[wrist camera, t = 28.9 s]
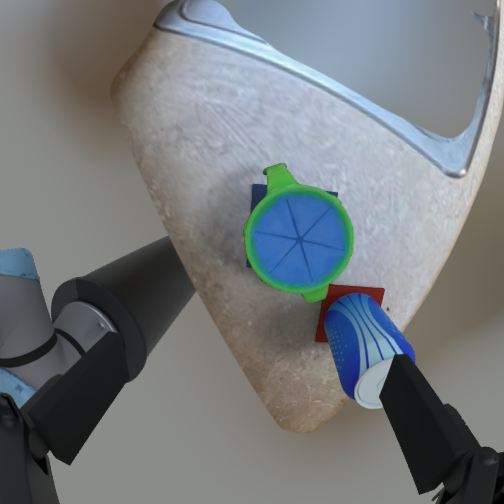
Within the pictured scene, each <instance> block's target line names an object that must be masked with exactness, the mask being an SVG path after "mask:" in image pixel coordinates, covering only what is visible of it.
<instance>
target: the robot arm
mask: <svg viewBox="0 0 504 504" xmlns="http://www.w3.org/2000/svg"><path fill="white" fill-rule="evenodd" d="M39 279H40V277H39V276H38V274H37V270H36V267H35V263H34V260H33V256H32V254H31V253H30V251H29V250H27V249H25V248H15V249H7V250H0V504H60V503H59V500H58V496H57V493H56V489H55V485H54V480H53V476H52V472H51V466H50V461H49V457H48V455H47V453H48V452H49V450H50V451H51V452H52V454H53V455H54V456H55V458H56V459H58V460H60V461H62V462H64V463H66V464H68V465H71V463H72V461H73V460H74V459H75V457H76V456H77V454H78V453H79V451H80V450H81V448H82V446H83V445H84V443H85V442H86V440H87V439H88V437H89V436H90V434H91V433H92V431H93V430H94V428H95V427H96V425H97V424H98V423H99V421H100V420H101V418H102V417H103V415H104V414H105V412H106V411H107V409H108V408H109V406H110V405H111V404H112V402H113V401H114V399H115V398H116V396H117V395H118V393H119V392H120V391H121V389H122V388H123V386H124V384H125V383H126V382H127V381H128V379H129V378H130V376H129V371H128V366H127V361H126V356H125V344H124V340H123V337H122V334H121V332H120V330H119V328H118V327H117V325H116V323H115V322H114V321H113V319H112V318H111V317H110V316H109V315H108V314H107V313H106V312H105V311H104V310H103V309H102V308H100V307H99V306H98V305H96V304H94V303H92V302H90V301H87V300H75V301H72V302H71V303H69V304H68V305H66V306H65V307H64V308H63V309H62V310H61V312H60V314H59V316H58V318H57V319H56V321H55V322H54V324H53V323H52V321H51V318H50V315H49V313H48V309H47V306H46V303H45V299H44V296H43V293H42V289H41V285H40V281H39ZM379 399H380V401H381V403H382V405H383V408H384V410H385V412H386V414H387V416H388V419H389V421H390V423H391V425H392V428H393V430H394V432H395V435H396V437H397V440H398V442H399V444H400V447H401V449H402V452H403V454H404V457H405V459H406V462H407V464H408V467H409V469H410V472H411V474H412V477H413V479H414V482H415V485H416V487H417V490H418V493H419V495H420V494H423V493H426V492H429V491H432V490H434V489H436V488H437V487H438V486H439V485H440V483H441V482H443V484H444V487H443V488H442V490H440V491H439V492H438V493H437V494H436V495H435V496H434V497H433V499H432V501H434V500H435V499H436V498H437V497H438V496H439V497H438V499H437V502H436V504H504V452H501V453H497V452H496V451H495V450H494V449H492V448H490V447H481V446H480V445H479V443H478V442H477V440H476V438H475V437H474V435H473V434H472V432H471V431H470V429H469V428H468V426H467V425H465V424H466V423H465V422H464V420H463V419H461V416H460V414H459V413H458V411H457V410H456V409H455V408H453V407H452V406H451V405H449V404H444V405H443V403H442V402H441V400H440V399H439V397H438V396H437V394H436V393H435V392H434V390H433V389H432V387H431V386H430V384H429V383H428V382H427V380H426V379H425V377H424V376H423V374H422V373H421V372H420V371H419V369H418V368H417V366H416V365H415V363H414V362H413V361H412V359H411V358H410V357H409V355H408V354H394V357H393V360H392V363H391V366H390V368H389V371H388V374H387V377H386V379H385V382H384V385H383V387H382V390H381V392H380V395H379Z"/></svg>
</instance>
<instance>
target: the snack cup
mask: <svg viewBox="0 0 504 504" xmlns="http://www.w3.org/2000/svg"><path fill="white" fill-rule="evenodd" d="M286 167H287V166H286V164H284V163H279V164H277V165H274V166H271V167H267V168H265V169H264V170H263V174H264V175H267V194H266V196H265V197H264V198H263V199H262V200H261V201H260V202H259V203H258V205H257V206H256V207H255V208H254V210H253V211H252V213H251V215H250V217H249V220H248V221H247V222H246V224H245V226H244V232H243V235H244V236H245V250H246V255H247V258H248V261H249V263H250V265H251V266H252V268H253V270H254V271H255V272H256V274H257V275H258V277H259V278H260V279H261V280H262V281H263V282H264V283H266V284H268V285H270V286H272V287H273V288H275V289H278V290H280V291H284V292H288V293H296V294H298V293H300V294H301V295H302V296H303V298H304V299H305V300H306V301H307V302H308V303H314V302H317V301H320V300H323V299H325V298H326V296H327V292H328V286H329V284H330V283H332V282H333V281H334V280H335V279H336V278H337V277H338V276H339V275H340V274H341V273H342V272H343V270H344V269H345V268H346V266H347V264H348V262H349V260H350V257H351V256H352V253H353V244H354V233H353V227H352V223H351V220H350V218H349V216H348V214H347V212H346V210H345V209H344V207H343V206H342V205H341V204H342V203H341V201H340V200H339V199H338V198H337V197H336V196H334V195H330V194H329V193H327V192H325V191H323V190H321V189H319V188H316V187H312V186H306V185H301V184H299V183H298V182H297V181H296V180H295V179H294V177H293V176H292V174H291V173H290V172H289V171H288V169H287V168H286Z"/></svg>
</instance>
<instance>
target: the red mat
mask: <svg viewBox="0 0 504 504" xmlns="http://www.w3.org/2000/svg"><path fill="white" fill-rule="evenodd" d="M384 291H385V289H384V288H373V287H358V286H345V285H332V284H329V286H328V292H327V296H326V298H325V299H323V301H322V307H321V312H320V318H319V323H318V328H317V333H316V338H315V341H316V342H328V339H327V335H326V332H325V328H324V320H325V316H326V313H327V311H328V310H329V308H330V307H331V305H332V304H333V303H334V302H335V301H337V300H338V299H339V298H341V297H343V296H345V295H348V294H352V293H362V294H366V295H368V296H370V297H372V298H373V299H374V300H375V301H376V302H377V304H378V305H379V306H380V307H381V304H382V300H383V295H384Z"/></svg>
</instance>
